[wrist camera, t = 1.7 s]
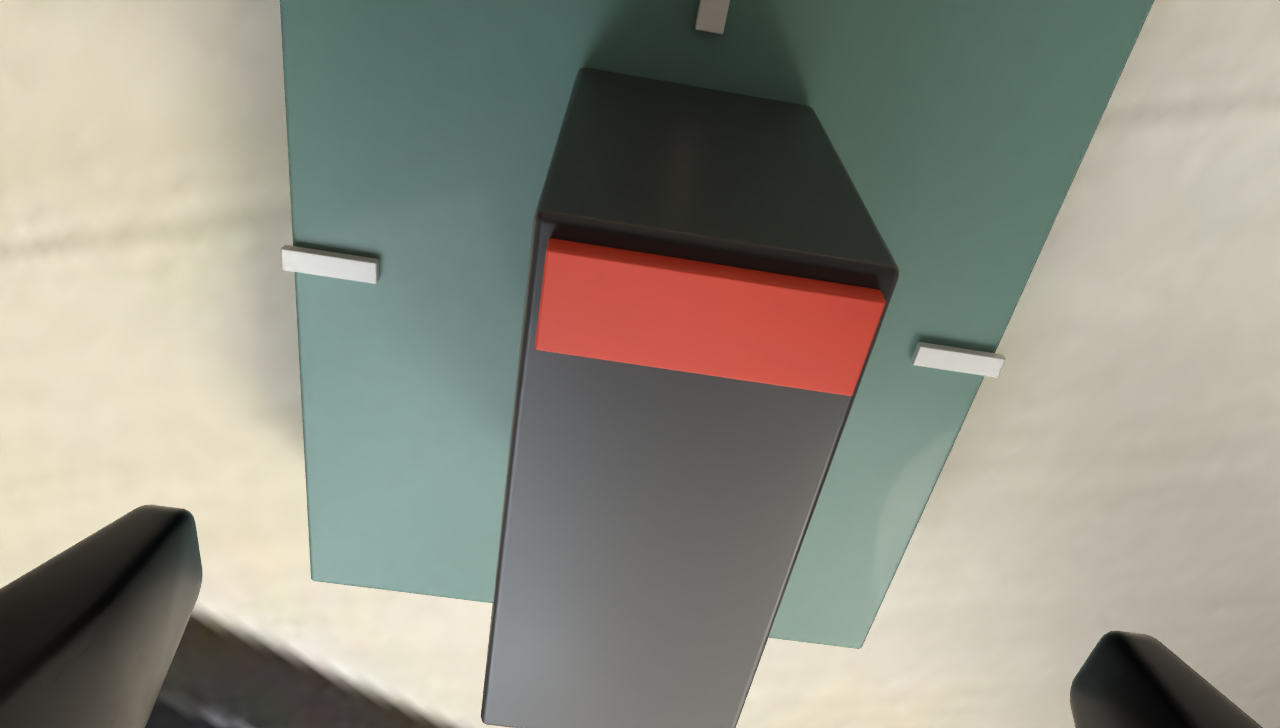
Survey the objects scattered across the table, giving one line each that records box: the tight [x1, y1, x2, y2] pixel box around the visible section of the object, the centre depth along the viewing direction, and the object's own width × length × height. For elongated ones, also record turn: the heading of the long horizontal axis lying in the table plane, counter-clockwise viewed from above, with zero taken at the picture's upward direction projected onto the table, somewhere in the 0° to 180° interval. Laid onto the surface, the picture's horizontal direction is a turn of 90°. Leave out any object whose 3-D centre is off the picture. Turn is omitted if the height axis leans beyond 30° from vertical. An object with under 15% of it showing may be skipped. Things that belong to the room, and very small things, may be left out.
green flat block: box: [280, 0, 1154, 649], centre depth 14 cm, size 14×11×3 cm
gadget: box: [481, 68, 899, 728], centre depth 11 cm, size 7×3×5 cm, turn 171°
